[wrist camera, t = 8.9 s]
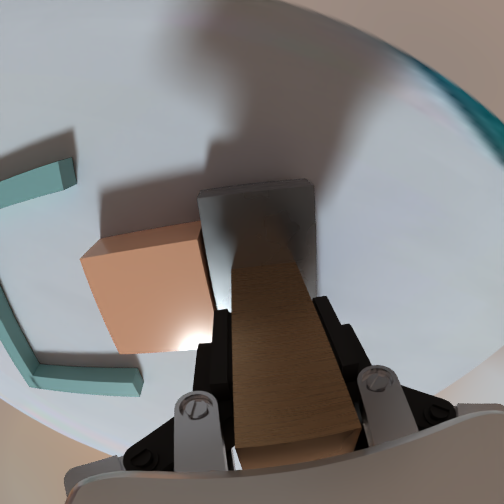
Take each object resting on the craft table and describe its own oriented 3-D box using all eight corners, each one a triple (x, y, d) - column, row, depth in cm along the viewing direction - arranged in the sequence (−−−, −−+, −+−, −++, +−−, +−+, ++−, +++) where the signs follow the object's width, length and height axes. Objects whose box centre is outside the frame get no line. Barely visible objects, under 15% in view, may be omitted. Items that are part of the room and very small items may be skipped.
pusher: (200, 190, 14) (141, 344, 4) (305, 178, 14) (436, 301, 5) (229, 351, 18) (234, 514, 9) (309, 341, 18) (356, 496, 9)
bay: (71, 157, 14) (57, 161, 12) (143, 382, 20) (139, 396, 19) (-39, 198, 13) (-52, 204, 12) (36, 375, 20) (29, 387, 18)
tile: (203, 218, 16) (197, 239, 13) (223, 314, 18) (222, 346, 15) (102, 236, 16) (79, 258, 13) (132, 323, 18) (119, 354, 15)
